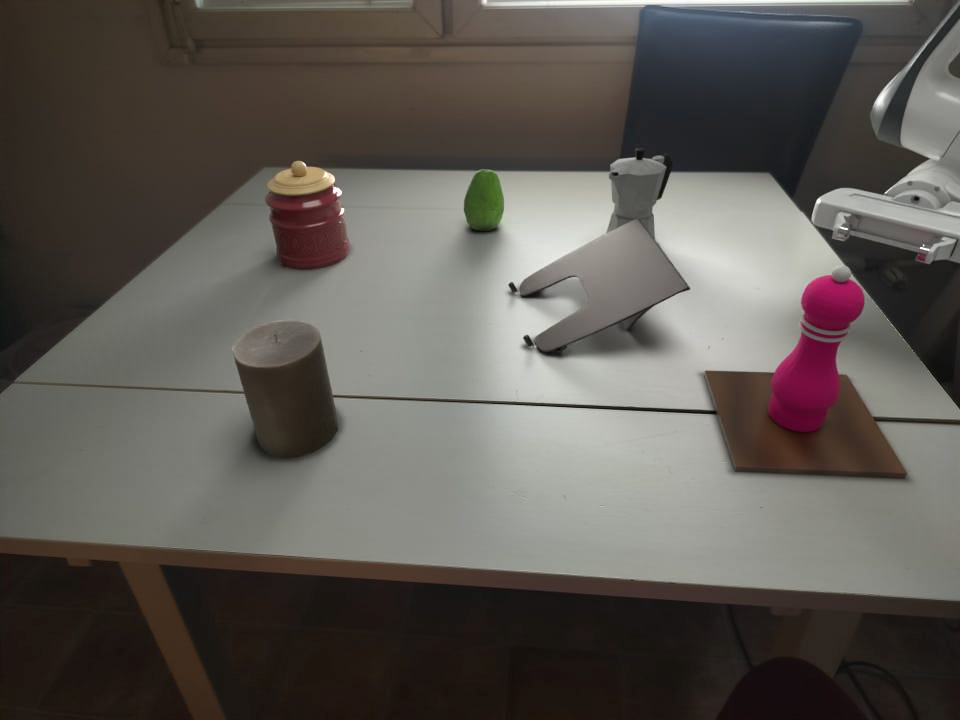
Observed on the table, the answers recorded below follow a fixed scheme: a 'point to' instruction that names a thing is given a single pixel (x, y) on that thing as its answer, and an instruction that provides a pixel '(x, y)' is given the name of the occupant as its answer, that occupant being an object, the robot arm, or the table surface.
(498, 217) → the avocado
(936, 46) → the robot arm
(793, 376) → the pepper mill
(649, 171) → the coffeepot
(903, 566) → the table surface
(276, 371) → the pillar candle
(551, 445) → the table surface
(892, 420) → the table surface
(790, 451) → the walnut board
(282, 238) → the kitchen canister
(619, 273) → the laptop tray
